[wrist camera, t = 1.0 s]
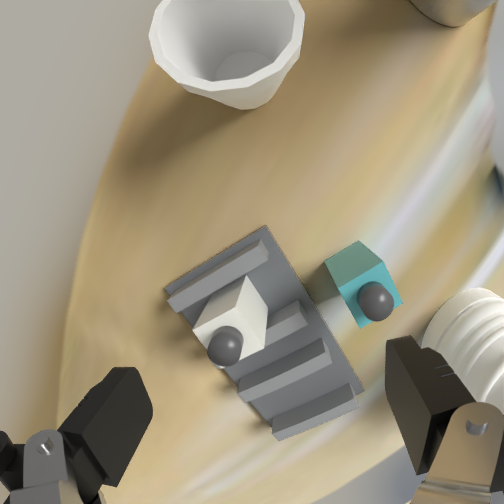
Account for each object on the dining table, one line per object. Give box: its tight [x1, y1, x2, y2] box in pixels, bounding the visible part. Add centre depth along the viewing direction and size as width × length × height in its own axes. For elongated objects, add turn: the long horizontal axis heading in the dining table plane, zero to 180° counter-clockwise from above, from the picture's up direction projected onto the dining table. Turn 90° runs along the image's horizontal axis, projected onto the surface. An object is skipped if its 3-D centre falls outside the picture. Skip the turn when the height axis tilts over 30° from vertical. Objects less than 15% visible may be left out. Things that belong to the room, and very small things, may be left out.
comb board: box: [165, 225, 364, 441], centre depth 32 cm, size 12×22×4 cm, turn 32°
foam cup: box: [148, 0, 305, 110], centre depth 22 cm, size 10×9×13 cm
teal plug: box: [324, 241, 403, 328], centre depth 26 cm, size 4×4×10 cm
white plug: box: [192, 275, 268, 369], centre depth 27 cm, size 4×4×10 cm
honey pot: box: [421, 288, 504, 415], centre depth 23 cm, size 13×13×18 cm
